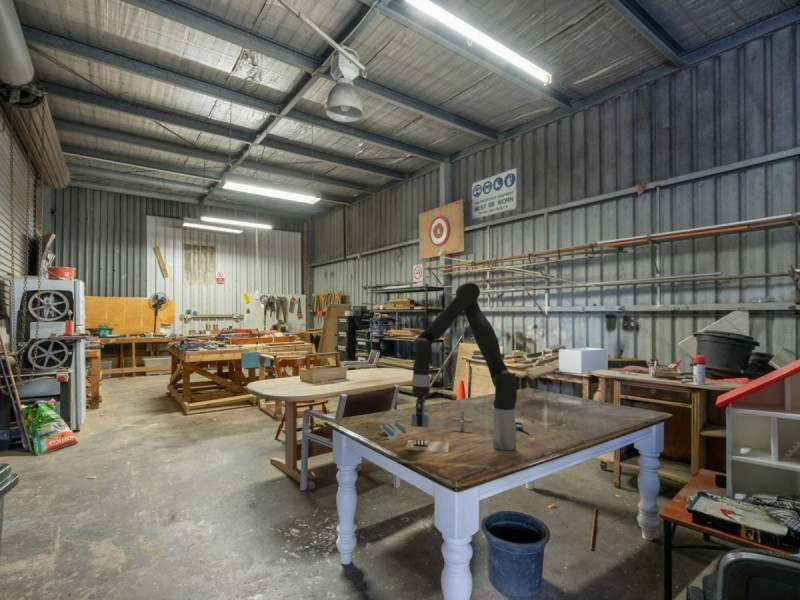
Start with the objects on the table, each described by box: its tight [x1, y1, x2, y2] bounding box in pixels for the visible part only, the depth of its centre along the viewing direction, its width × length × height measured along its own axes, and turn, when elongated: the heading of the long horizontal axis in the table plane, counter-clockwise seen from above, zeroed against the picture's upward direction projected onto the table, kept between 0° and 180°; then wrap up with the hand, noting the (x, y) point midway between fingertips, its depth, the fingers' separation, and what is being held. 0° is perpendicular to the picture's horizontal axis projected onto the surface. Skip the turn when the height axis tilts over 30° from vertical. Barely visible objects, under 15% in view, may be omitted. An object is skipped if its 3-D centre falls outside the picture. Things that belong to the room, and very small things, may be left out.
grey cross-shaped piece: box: [451, 410, 474, 432], centre depth 199 cm, size 10×10×10 cm
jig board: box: [404, 439, 450, 453], centre depth 171 cm, size 18×13×4 cm
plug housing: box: [410, 411, 430, 429], centre depth 171 cm, size 7×4×5 cm, turn 81°
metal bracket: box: [378, 421, 407, 441], centre depth 191 cm, size 14×6×15 cm
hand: (420, 424), depth 171 cm, fingers closed on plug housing, 4 cm apart
